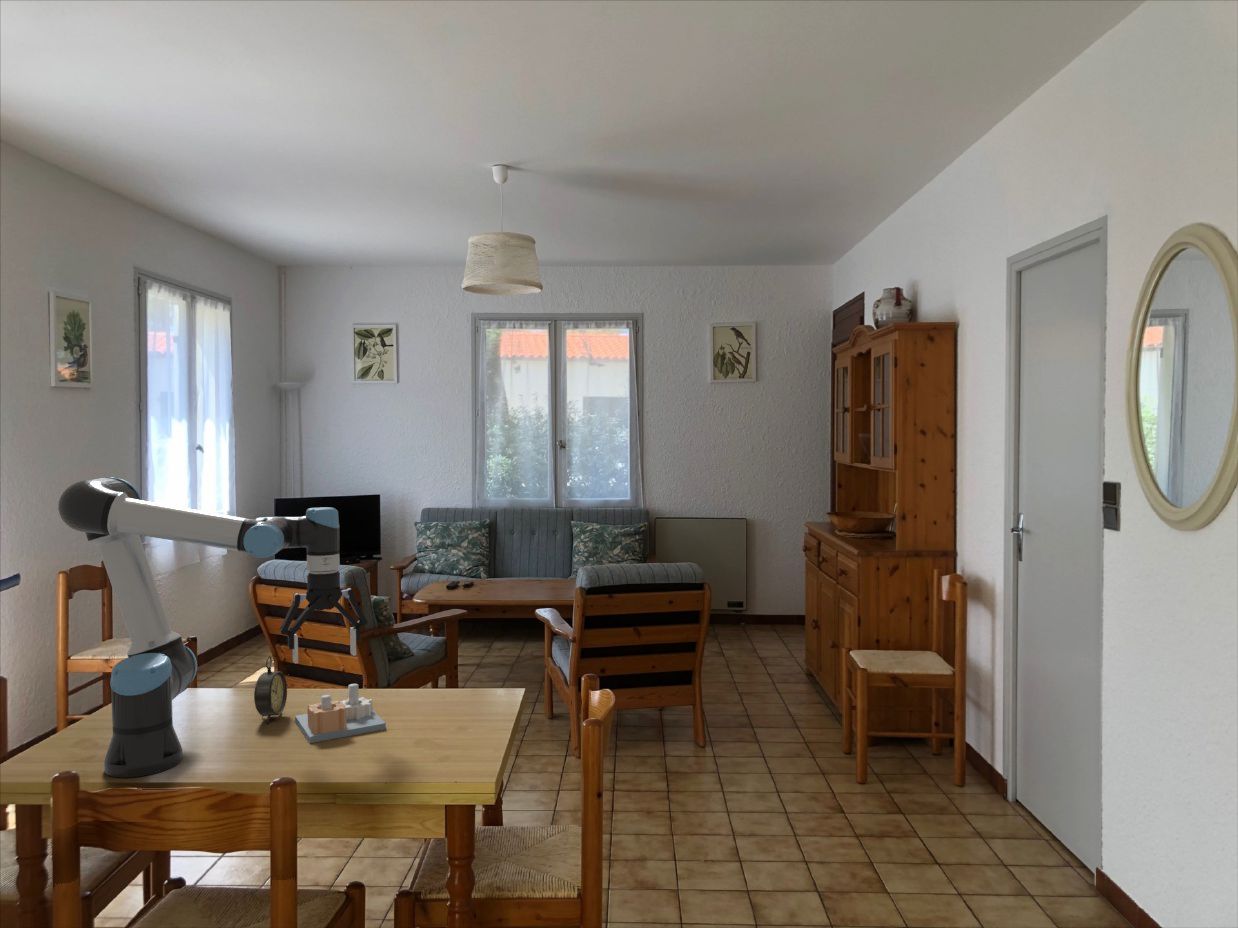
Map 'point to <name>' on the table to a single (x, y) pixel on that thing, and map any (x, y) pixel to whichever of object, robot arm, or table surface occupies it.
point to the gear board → (357, 717)
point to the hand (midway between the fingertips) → (324, 658)
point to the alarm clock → (270, 693)
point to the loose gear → (327, 717)
